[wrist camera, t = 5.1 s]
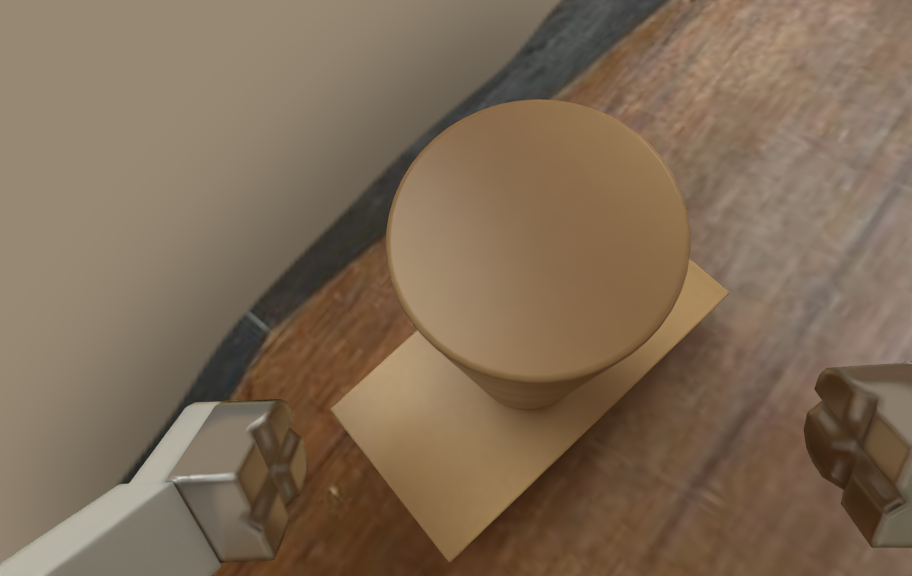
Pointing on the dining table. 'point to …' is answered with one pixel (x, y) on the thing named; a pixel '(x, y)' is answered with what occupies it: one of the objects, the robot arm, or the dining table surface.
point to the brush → (520, 305)
